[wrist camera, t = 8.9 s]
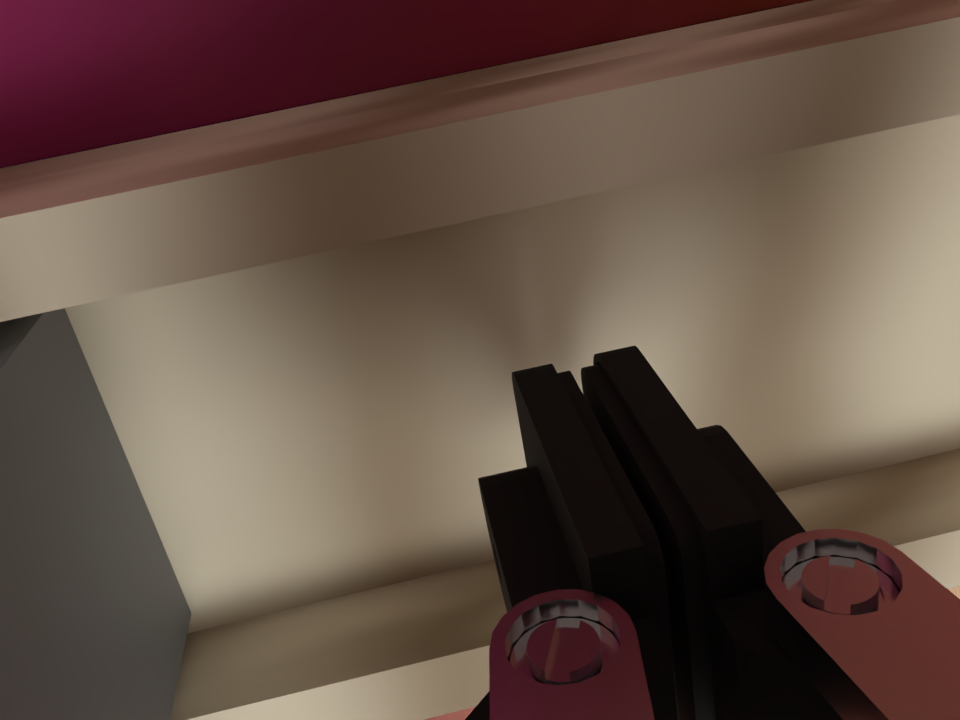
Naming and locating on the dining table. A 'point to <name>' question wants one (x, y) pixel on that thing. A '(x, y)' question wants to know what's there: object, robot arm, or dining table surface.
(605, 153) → the birch chute
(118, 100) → the dining table surface
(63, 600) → the slate block
